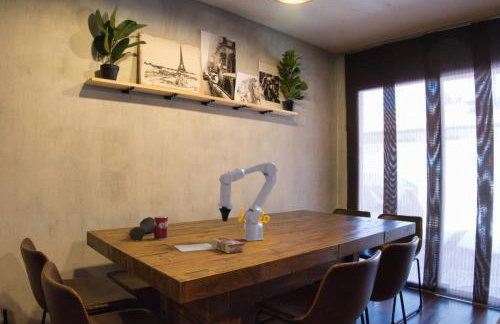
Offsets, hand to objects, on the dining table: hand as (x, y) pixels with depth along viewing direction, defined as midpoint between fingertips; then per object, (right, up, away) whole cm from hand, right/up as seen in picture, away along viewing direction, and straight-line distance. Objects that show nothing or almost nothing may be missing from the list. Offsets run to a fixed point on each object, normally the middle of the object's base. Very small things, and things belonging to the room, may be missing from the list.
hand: (224, 221), depth 181 cm
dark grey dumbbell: (-46, -11, +11) cm, 48 cm away
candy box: (-1, -8, -14) cm, 16 cm away
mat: (-13, -10, -18) cm, 24 cm away
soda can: (-35, -10, +2) cm, 36 cm away
